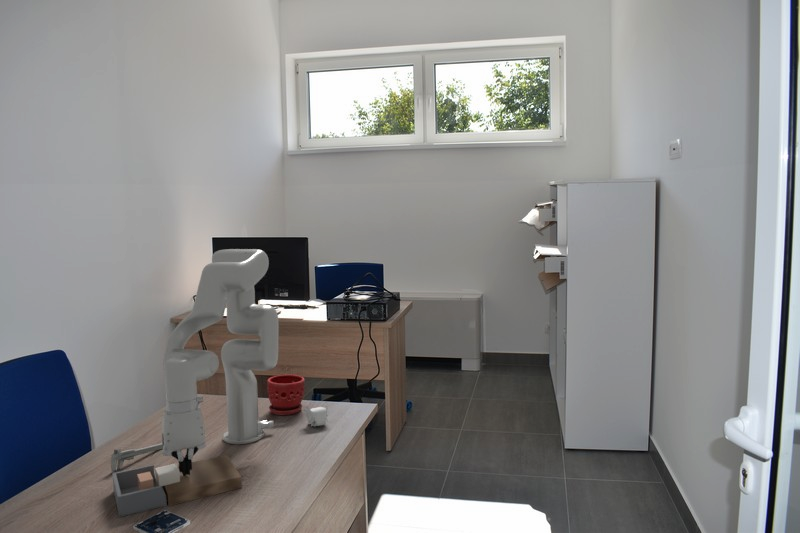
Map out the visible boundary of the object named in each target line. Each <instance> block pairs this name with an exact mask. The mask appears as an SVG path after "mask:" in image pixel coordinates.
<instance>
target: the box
mask: <svg viewBox="0 0 800 533" xmlns="http://www.w3.org/2000/svg"><path fill="white" fill-rule="evenodd" d="M154 467H155V466H154V464H153V463H152V464H149V465H148V464H147V465H145V466H144V465H143V466H140V467H135V468H130V469H125V470H120V471H116V472H112V488H113V496H114V498H115V505H116V509H117V514H118V518H121V517H126V516H130V515H131V516H132V515H134V514H137V513H142V512H146V511H150V510H154V509H158V508H162V507H166V506H168V503H167V500H166V494H165V492H164V489H163V487H162V486H159V485H158V483H157V481H156V473H155V468H154ZM145 472H150V473H151V475H152V477H153V485H154V487H153V488H149V489H144V490H140V491H138V479H137V474H141V473H145Z"/></svg>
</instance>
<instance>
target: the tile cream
mask: <svg viewBox="0 0 800 533" xmlns="http://www.w3.org/2000/svg"><path fill="white" fill-rule="evenodd" d="M177 466H178V465H177V463H171V464H167V465H162V466H159V467H155V468H154V474H155V473H156V481H157V483H158V485H159V486H165V485H169V484H173V483H177V482H180V472H179V469H178V467H177Z"/></svg>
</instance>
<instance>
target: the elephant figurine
mask: <svg viewBox="0 0 800 533" xmlns="http://www.w3.org/2000/svg"><path fill="white" fill-rule="evenodd" d="M303 412H304V414H305V417H306V418H307V423H308V425H309V424H311V425H310V426H311V427H312V426H314V427H316V426H317V427H319V426H325V425H326V424H327V423H329V419H328V415H329V414H328V403H327V402H324V407H322V406H317V407H313V408H310V407H308V405H306V406H305V407H304V409H303ZM326 421H327V422H326Z"/></svg>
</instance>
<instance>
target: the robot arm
mask: <svg viewBox="0 0 800 533" xmlns="http://www.w3.org/2000/svg"><path fill="white" fill-rule="evenodd" d="M212 254H213V255H212V257H211V263H208V264H206V265H205V266H204V267H203V269H202V271H201V275H200V279H199V282H198V286H197V291H196V294H195V298H194V299H195V300H194V302H193V305H192V310H191V312H190V313H188V315H187V316H185V317H184V318H183V319H182V320H181V321H180V322H179V323H178V324H177V325H176V326H175V328H174V329H173V331H172V332H171V333H170V335H169V337H168V339H167V342H166V348H165V350H164V355H163V359H162V360H163V363H162V365H163V370H164V382H165V383H164V385H165V401H166V402H165V404H166V410H164V411H163V413H162V421H161V443H162V445H163V446H164V447H163V449H162V450H161V451H162V452H161V454H162V456H163V457H173V458H174V459H176V460H178V465H179V472H182V474H183V476H186V474H187V475H190V470H192V462H193V461H192V460H193V458H194V456H195V454H196V453H197V452H198V451H201V450H203V449H205V448H206V447H207V444H206V432H205V424H204V419H203V413H202V410H201V406H200V403H203V402H204V397H200V396H198V387H197V386H198V385H197V381H198V382H199V381H202V380H206V379H209V378H211V377H212V376H214V375H215V374H216V373H217V371H218V369H219V366H220V360H219V359H221V363H222V366H223V371H224V378H225V392H226V393H225V394H226V395H225V396H226V397H225V398H226V413H227V414H226V415H227V420H226V421H227V431H225V432H224V433H223V436H222V439H223V441H224V442H225V443H226V444H231V445H246V444H251V443H255V442H257V441H259V440H261V439H262V438H264V436H265V431H264V430H265V429H267V428H268V429H270V428H274V425H275V423H274V420H269V421H268V420H267V419H266V420H265V419H264V420H262V421H261V420H259V419H260V418H259V397H258V382H257V381H258V380H257V378H256V376H255V374H254V373H253V371H271V370H273V369H275V367H276V366H277V364H278V360H279V329H280V328H279V315H278V312H277V310H276V308H275V307H274V306H272V305H270V304H256V301H255V300H256V294H255V293H256V290H255V285H257V284H258V283H259V282H260V280H262V279H263V277H264V276H265V275H266V273H267V271H269V270H268V269H269V264H270V263H269V262H270V260H269V257H268V254H267V253H266V252H265V251H264V250H262V249H257V248H252V249H251V248H249V249H248V248H244V249H243V248H241V249H240V248H235V249H234V248H229V249H227V248H226V249H219V250H217V251H215V252H214V253H212ZM225 311H226V327H227V330H228V332H230V333H231V334H234V335H241V336H243V335H247V336H259V339H255V338H253V339H252V338H233V339H230V340H228V341H226V342H224V344H223V345H222V347H221V351H220V358H219V357H218V355H217V354H216V353H215V352H214V351H211V350H209V349H208V350H203V349H187V348H185V346H186V344H187V342H188V341H189V339H190V338H191V337H192V336H193V335H195V334H196V333H197V332H199V331H201V330H204V329H206V328H207V327H210V326H212V325H214V324H216V323H217V324H218V323H219V322H220V321H222V319H224V316H225ZM184 348H185V349H184ZM183 450H186V451H185V456H184V454H183Z"/></svg>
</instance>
